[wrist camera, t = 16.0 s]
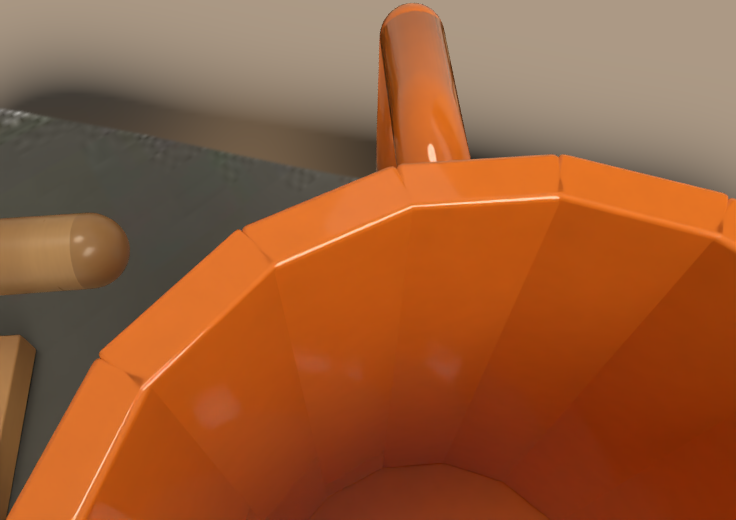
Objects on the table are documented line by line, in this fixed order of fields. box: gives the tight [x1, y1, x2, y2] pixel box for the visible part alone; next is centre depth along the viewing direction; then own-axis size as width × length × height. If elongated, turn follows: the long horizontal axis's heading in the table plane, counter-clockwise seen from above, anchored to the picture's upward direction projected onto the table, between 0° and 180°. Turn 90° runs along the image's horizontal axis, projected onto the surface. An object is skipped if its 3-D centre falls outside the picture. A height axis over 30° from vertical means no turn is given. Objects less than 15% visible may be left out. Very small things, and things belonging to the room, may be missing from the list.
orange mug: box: [6, 3, 736, 520], centre depth 11 cm, size 14×9×12 cm, turn 5°
